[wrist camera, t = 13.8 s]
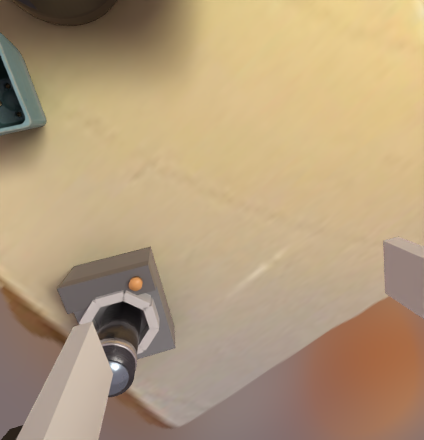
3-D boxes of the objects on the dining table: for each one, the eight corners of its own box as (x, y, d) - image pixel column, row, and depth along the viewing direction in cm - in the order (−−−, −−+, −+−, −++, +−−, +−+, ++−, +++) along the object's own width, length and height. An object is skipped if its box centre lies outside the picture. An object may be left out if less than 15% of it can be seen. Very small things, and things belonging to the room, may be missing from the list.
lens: (98, 330, 37) (74, 397, 27) (107, 296, 36) (86, 352, 26) (137, 337, 38) (127, 403, 29) (147, 304, 37) (140, 360, 28)
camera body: (73, 266, 39) (54, 292, 32) (150, 246, 41) (147, 267, 34) (105, 346, 43) (93, 384, 36) (174, 326, 45) (176, 359, 38)
